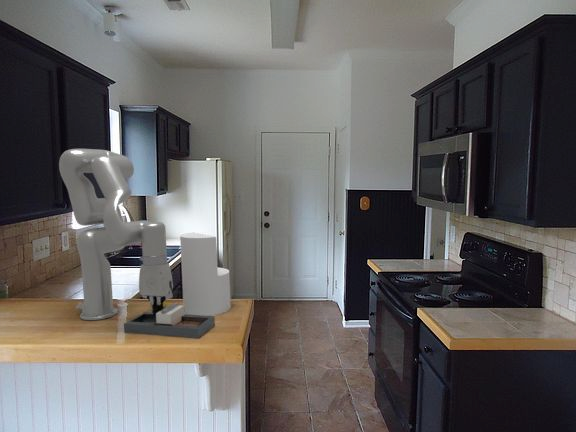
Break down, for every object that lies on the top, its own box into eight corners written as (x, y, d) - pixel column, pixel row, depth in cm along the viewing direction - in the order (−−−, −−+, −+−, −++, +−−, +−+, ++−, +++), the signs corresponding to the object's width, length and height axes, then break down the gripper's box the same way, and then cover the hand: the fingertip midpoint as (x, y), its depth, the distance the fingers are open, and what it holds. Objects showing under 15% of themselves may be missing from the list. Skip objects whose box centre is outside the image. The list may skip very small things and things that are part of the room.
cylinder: (197, 319, 149) (193, 239, 146) (175, 308, 162) (172, 234, 159) (239, 308, 160) (236, 234, 157) (215, 299, 173) (213, 230, 170)
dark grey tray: (124, 332, 138) (123, 323, 137) (145, 320, 149) (144, 311, 149) (198, 338, 131) (198, 328, 131) (214, 324, 143) (214, 316, 143)
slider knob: (156, 327, 136) (155, 310, 136) (171, 318, 145) (170, 302, 144) (170, 328, 135) (170, 311, 135) (184, 319, 144) (183, 302, 143)
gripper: (127, 262, 137) (131, 318, 139) (169, 263, 134) (173, 320, 135) (141, 257, 145) (144, 310, 146) (181, 258, 141) (184, 313, 143)
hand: (158, 315), depth 141 cm, fingers closed
